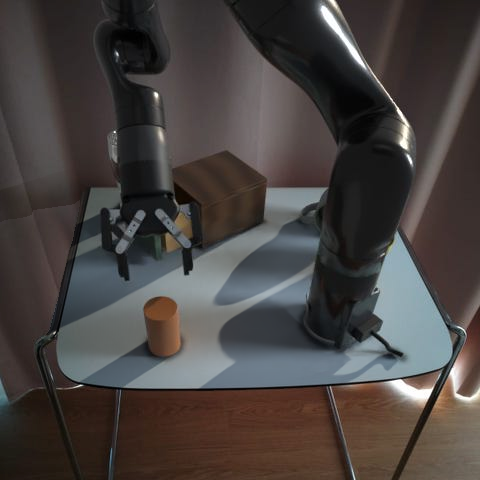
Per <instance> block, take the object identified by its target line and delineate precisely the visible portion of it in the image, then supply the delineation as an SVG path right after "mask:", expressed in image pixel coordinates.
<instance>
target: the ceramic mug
mask: <svg viewBox="0 0 480 480" xmlns="http://www.w3.org/2000/svg"><path fill="white" fill-rule="evenodd" d="M328 188H329V187H327V188H326V189H325V190H324V191H323V192H322V194H321V195H320V198H319V201H317V202H313V203H310V204H308V205H306V206H304V207H303V208H302V209H301V210H300V212H299V218H300V221H301V223H303V224H305V225H314V227H316V229H317V231H319V232H320V233H321V229H322V221H323V215H324V210H325V204H326V199H327V193H328ZM311 212H313V215H312V216H307V215H308V214H309V213H311Z"/></svg>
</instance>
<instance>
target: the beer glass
mask: <svg viewBox="0 0 480 480" xmlns="http://www.w3.org/2000/svg"><path fill="white" fill-rule="evenodd" d="M106 139H107V150H108V158H109V164H110V168H111V171H112V174H113V177H114V179H115V183H116V185H117V188H118V192H119V194H120V193H121V185H120V176H119V167H118V163H117V132H116V129H114V130H113V131H111V132H109V133H108V135H107V137H106ZM119 197H120V196H119ZM121 206H122V203H121V197H120V201H119V209H121Z"/></svg>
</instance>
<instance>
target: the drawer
mask: <svg viewBox="0 0 480 480" xmlns="http://www.w3.org/2000/svg"><path fill="white" fill-rule="evenodd" d="M174 193H175V200H176V202H177V204H178V205H184V204H190V203H191V202H192V201H193V200H191V199H190V198H189V197H188V196H187V195H185V194H184V193H183V192H182V191H181V190H180V189H178V188H177V187H176V186H175V185H174ZM119 197H121V203H122V195H121V193H120V192H119ZM198 210H199V206H198ZM122 222H124V226H125V231H126V230H127V228H128V225H127V224H126V222H125V221H124V220H123V219H122V218H121V217H118V218H117V220H116V223H115V224H114V225H111V227H112V234H113V235H114V236H115V237H116V238H117V239H118V240H119V241H120V240H121V239H122V237H123V234H124V233H125V231H123V230H122V229H121V228H120V226H119V225H118V224H120V223H122ZM174 224H175V225H176V226H177V227H178V228H179V229H180V230H181V231H182V233H183V234H184V235H185V236H186V237H187V238H188V239H190V238H192V237H193V233H192V227H191V220H190V219H186V218H185V216H184V214H183V213H179V215H178V217H177V218H176V220H175V222H174ZM134 240H135V241H136V242H137V243H138V244H139V245H140V246H141V247H142V248H143V249H144V250H145V251H146V252H147V253H148V254H149V255H150V256H151V257H152V258H153V259H154V260H155V261H156V262H159V261H163V251H164V252H165V253H167V254H168V253H170V252H173V251H175V250H177V249H180V248H182V247H181V246H180V244H179V243H178V242H177V241H176V240H175V239H174V238H173V237H172V236H171V235H170V234H169V233H167V234H165V235H164V236H154V235H152V236H149V237H144V238H142V237H140V236H138V235H137V236H136V237H135V239H134Z"/></svg>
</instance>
